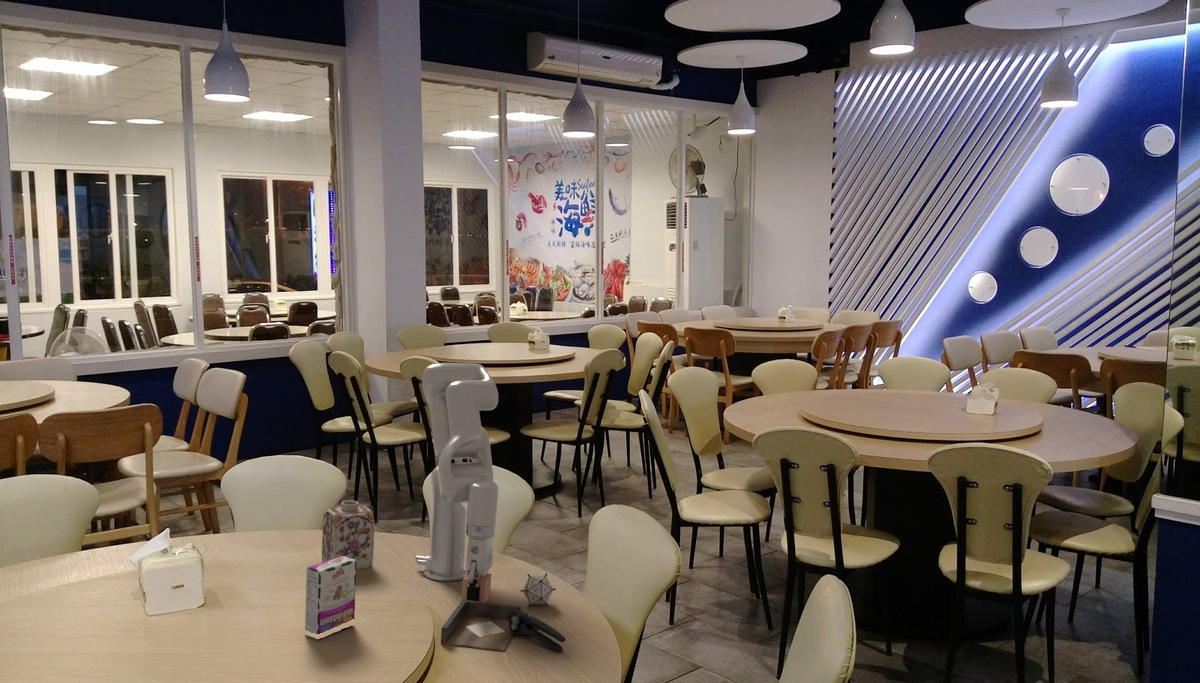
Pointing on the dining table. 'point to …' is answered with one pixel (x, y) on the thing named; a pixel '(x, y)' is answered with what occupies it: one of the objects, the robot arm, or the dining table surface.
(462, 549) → the robot arm
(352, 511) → the decorative jar
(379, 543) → the dining table surface
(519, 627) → the can opener
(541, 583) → the game die
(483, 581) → the cube
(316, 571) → the candy bar box
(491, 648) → the tray
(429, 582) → the dining table surface
